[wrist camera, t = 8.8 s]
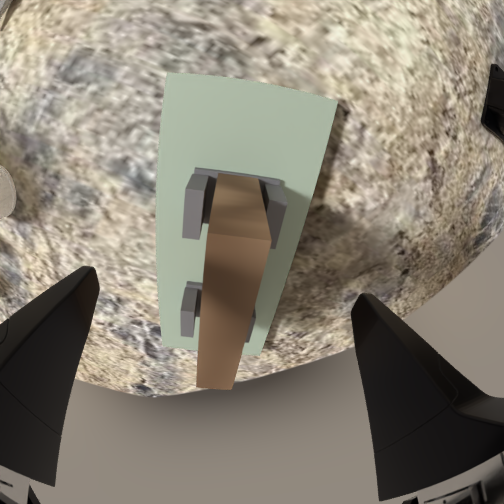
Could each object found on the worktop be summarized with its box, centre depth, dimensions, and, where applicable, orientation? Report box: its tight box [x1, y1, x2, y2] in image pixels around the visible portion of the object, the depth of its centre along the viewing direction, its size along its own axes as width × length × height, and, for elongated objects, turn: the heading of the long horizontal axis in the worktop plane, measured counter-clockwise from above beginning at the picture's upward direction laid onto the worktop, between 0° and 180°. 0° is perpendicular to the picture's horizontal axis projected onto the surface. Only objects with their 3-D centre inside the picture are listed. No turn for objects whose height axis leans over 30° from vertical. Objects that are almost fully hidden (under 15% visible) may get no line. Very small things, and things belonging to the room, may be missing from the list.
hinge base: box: [156, 73, 338, 356], centre depth 19 cm, size 10×24×4 cm, turn 170°
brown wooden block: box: [196, 173, 272, 390], centre depth 16 cm, size 2×12×7 cm, turn 170°
